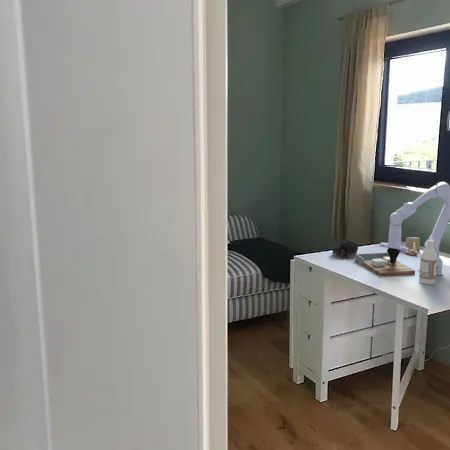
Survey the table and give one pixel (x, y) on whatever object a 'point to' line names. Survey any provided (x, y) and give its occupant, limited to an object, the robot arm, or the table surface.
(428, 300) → the table surface
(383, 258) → the cream tile
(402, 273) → the walnut plate
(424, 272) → the bath foam
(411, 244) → the decorative sculpture
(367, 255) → the box
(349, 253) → the crystal cluster
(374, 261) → the sage tile
